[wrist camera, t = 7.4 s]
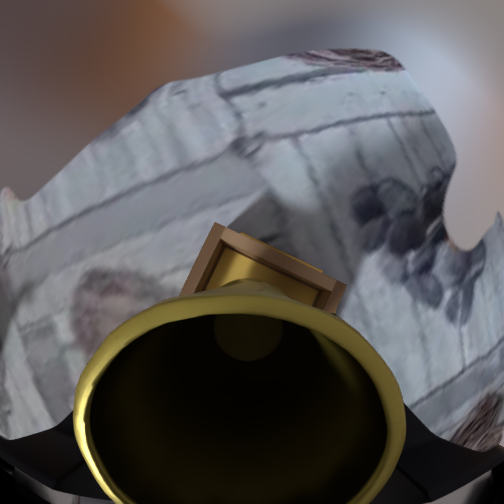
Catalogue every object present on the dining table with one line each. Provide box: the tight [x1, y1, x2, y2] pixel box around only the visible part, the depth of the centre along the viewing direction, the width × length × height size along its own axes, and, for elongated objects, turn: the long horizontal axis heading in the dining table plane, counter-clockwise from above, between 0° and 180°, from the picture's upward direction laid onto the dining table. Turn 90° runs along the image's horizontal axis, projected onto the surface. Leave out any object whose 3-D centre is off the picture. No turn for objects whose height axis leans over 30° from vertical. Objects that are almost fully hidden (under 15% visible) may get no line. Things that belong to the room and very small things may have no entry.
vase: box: [73, 278, 406, 504], centre depth 10 cm, size 6×6×14 cm
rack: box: [179, 222, 347, 314], centre depth 18 cm, size 10×27×4 cm, turn 154°
